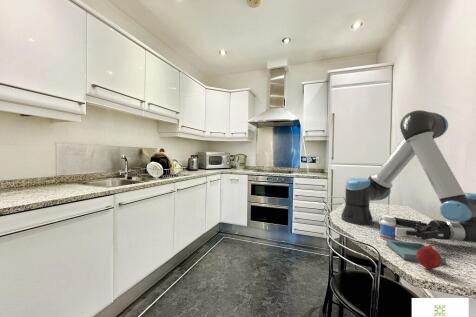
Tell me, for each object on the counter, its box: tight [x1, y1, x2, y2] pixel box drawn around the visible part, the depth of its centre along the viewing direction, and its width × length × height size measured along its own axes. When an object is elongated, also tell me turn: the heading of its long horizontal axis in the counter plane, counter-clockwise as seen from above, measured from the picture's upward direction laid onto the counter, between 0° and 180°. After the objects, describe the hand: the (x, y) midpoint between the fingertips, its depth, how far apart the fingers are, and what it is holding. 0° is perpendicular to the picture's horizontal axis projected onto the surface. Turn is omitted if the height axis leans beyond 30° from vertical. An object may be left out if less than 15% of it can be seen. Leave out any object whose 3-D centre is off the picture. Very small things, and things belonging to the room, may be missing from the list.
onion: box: [416, 243, 442, 271], centre depth 64 cm, size 6×6×8 cm
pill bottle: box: [379, 214, 397, 241], centre depth 89 cm, size 6×5×10 cm
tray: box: [386, 240, 447, 266], centre depth 75 cm, size 12×12×2 cm
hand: (387, 225), depth 89 cm, fingers open, 13 cm apart
